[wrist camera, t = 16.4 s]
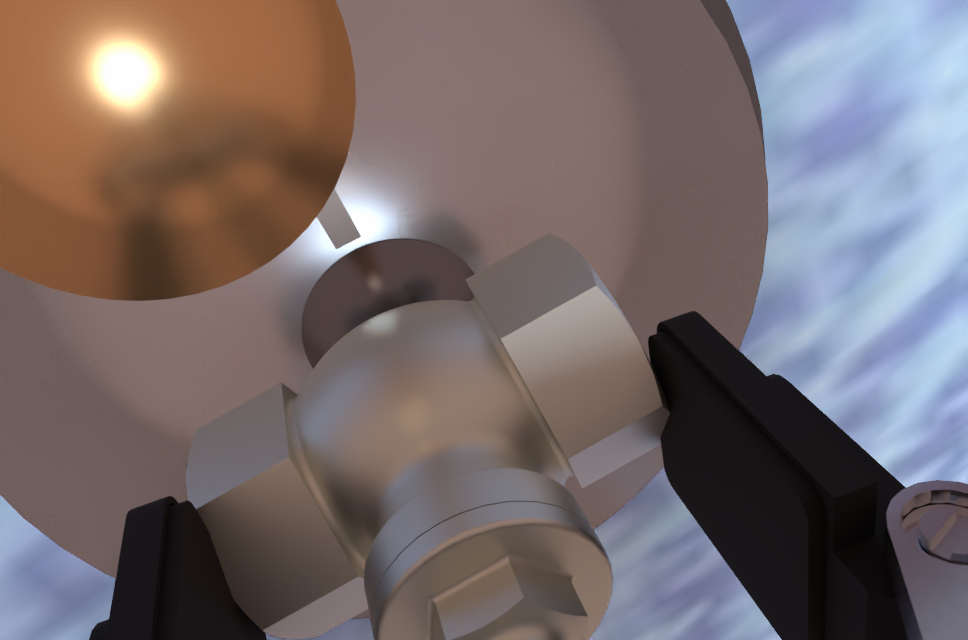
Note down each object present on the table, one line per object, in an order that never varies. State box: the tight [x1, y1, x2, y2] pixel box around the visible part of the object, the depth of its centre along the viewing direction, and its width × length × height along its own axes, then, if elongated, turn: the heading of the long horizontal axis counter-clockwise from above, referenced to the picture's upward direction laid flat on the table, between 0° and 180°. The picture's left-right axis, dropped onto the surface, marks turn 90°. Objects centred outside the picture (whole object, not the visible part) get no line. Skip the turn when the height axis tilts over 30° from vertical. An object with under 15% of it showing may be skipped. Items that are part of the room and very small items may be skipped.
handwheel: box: [0, 0, 768, 619], centre depth 12 cm, size 16×16×9 cm
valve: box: [186, 233, 670, 640], centre depth 9 cm, size 7×7×12 cm
